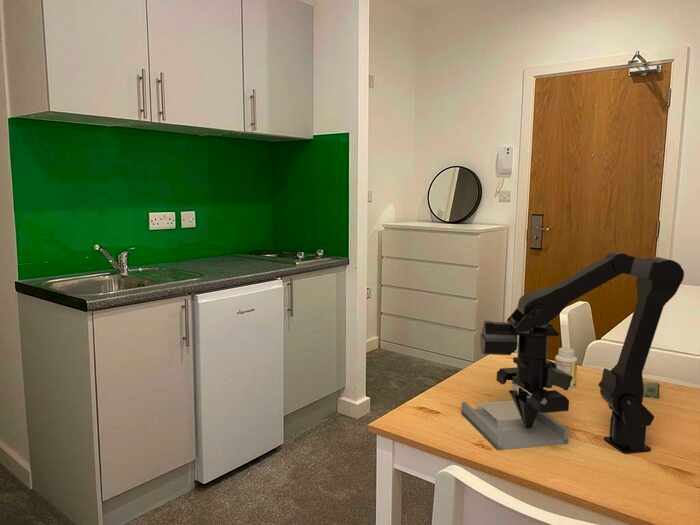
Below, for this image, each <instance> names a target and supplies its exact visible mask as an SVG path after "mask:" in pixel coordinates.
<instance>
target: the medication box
mask: <svg viewBox="0 0 700 525" xmlns="http://www.w3.org/2000/svg"><path fill="white" fill-rule="evenodd" d="M643 385H644V394H643V398H644V397H653V398H652V399H658V398H659V399H660V387H661V384H660V383H658V382H657V381H648V380H647V381H646V380H643Z"/></svg>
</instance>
